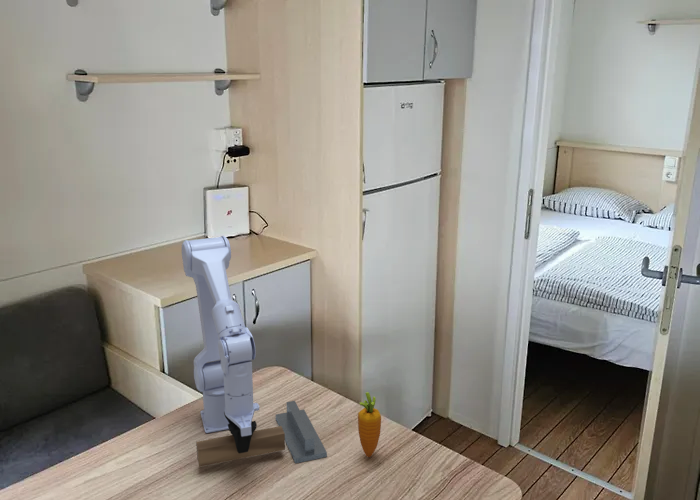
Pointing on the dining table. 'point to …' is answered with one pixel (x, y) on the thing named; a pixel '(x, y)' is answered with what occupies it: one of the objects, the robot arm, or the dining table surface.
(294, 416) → the stand
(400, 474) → the dining table surface
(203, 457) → the walnut rod
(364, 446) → the carrot
